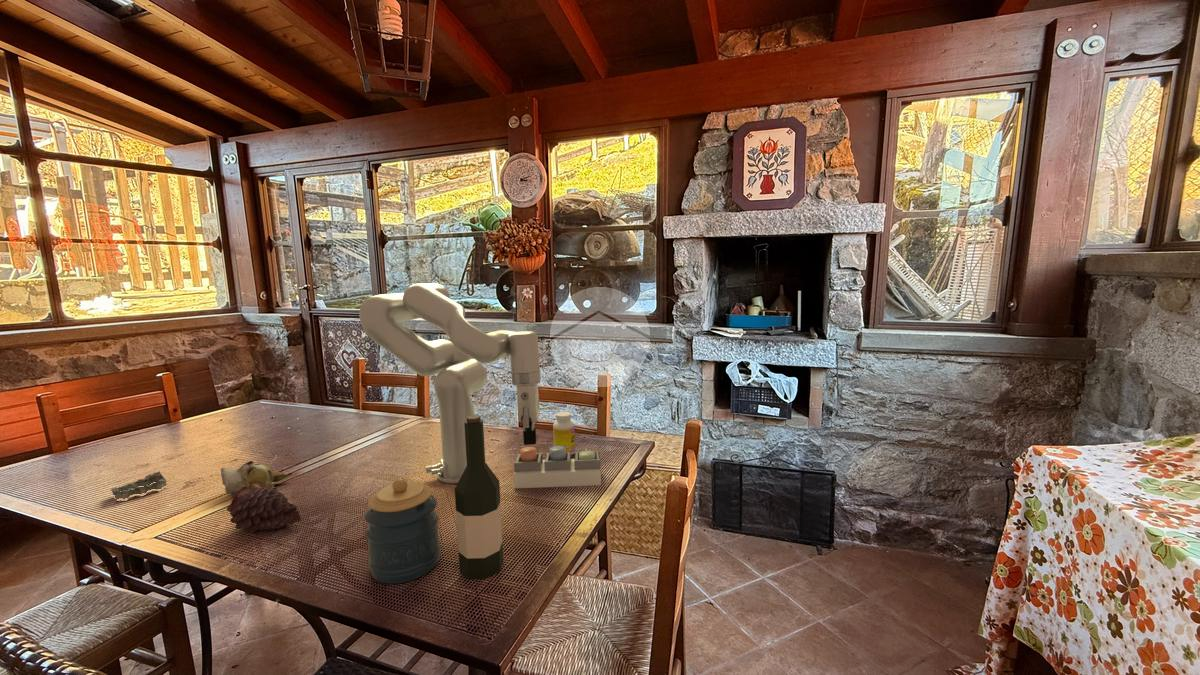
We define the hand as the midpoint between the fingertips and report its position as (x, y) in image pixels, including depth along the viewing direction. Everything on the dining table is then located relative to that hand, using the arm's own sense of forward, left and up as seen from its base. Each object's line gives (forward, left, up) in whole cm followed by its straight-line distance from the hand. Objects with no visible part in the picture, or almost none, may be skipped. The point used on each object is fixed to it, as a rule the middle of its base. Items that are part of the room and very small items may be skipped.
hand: (530, 443), depth 128 cm
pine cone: (-62, +7, -11) cm, 63 cm away
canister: (-34, -24, -11) cm, 43 cm away
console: (+7, -3, -11) cm, 13 cm away
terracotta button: (0, 0, -5) cm, 5 cm away
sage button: (+14, -6, -7) cm, 17 cm away
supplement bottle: (+16, +14, -11) cm, 24 cm away
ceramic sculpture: (-67, +31, -11) cm, 75 cm away
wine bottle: (-21, -32, -11) cm, 40 cm away
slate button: (+7, -3, -5) cm, 9 cm away
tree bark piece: (-95, +45, -11) cm, 105 cm away
